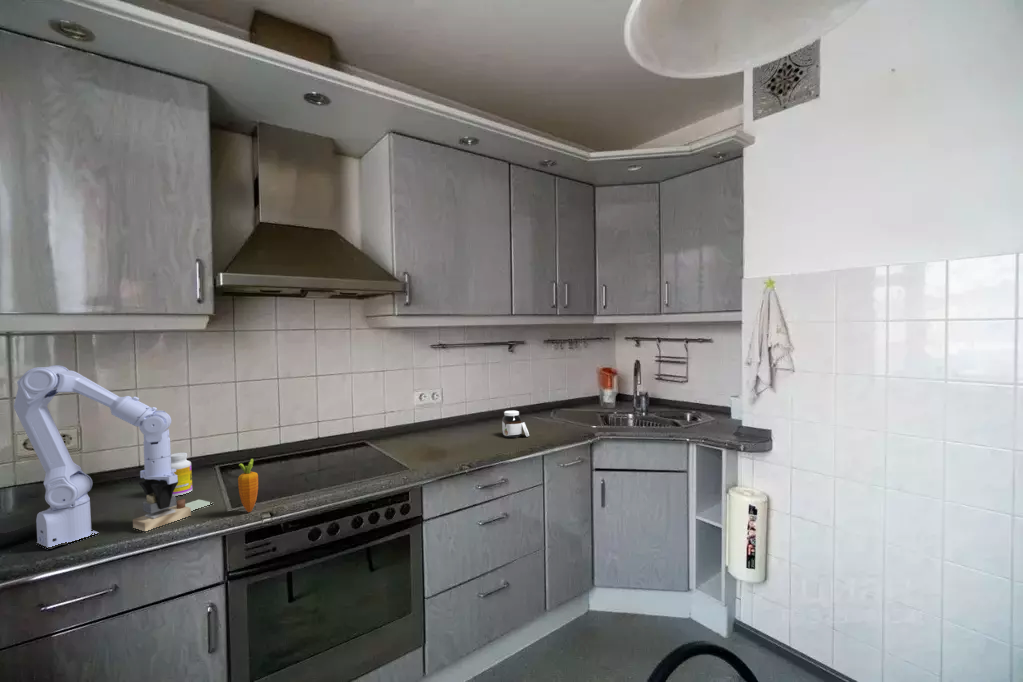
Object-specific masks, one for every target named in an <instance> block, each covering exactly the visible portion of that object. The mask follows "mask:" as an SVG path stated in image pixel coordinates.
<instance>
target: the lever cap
mask: <svg viewBox="0 0 1023 682" xmlns="http://www.w3.org/2000/svg"><path fill="white" fill-rule="evenodd" d="M176 501H177V497H175V496H172V498H171V502H170V506H169V507H167V508H170V507H173V506H176V505H177V504H176ZM167 508H164V509H167ZM164 509H159V506H158V502H157V497H156V494H155V493H152V494H148V495H147V496H146V501H143V502H142V512H145V513H147V514H149V513H154V512H157V511H161V510H164Z"/></svg>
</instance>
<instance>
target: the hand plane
mask: <svg viewBox="0 0 1023 682" xmlns="http://www.w3.org/2000/svg"><path fill="white" fill-rule="evenodd" d="M185 504H186V499H185V498H182V499H180V498H179V499H178V500H177V499H176V506H173V507H170V508H167V509H164V510H161V511H157V512H154V513H146V514H144V515H143V516H140V517H139V516H138V517H136V518H133V519H132V529H133V528H136V529H139V530H142V531H148V530H151V529H153V528H156V527H159V526H162V525H165V524H168V523H171V522H174V521H177V520H180V519H182V518H185V517H188V516H191V517H192V512H191V508H189V507H185ZM180 521H181V520H180ZM177 522H178V521H177Z"/></svg>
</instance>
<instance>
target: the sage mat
mask: <svg viewBox="0 0 1023 682" xmlns="http://www.w3.org/2000/svg"><path fill="white" fill-rule="evenodd" d="M210 502H211V501H207V500H204V499H196V500H192V501H190V502H187V503H186V502H185V507H189V508H191V511H193V510H195V509H198V508H201V507H204V506H207V505H210ZM212 503H213V502H212ZM212 503H211V504H212ZM210 506H211V505H210ZM207 507H208V506H207ZM204 508H205V507H204ZM193 512H194V511H193Z"/></svg>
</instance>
